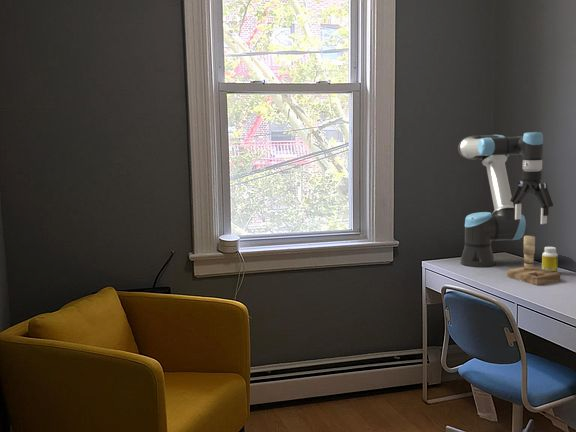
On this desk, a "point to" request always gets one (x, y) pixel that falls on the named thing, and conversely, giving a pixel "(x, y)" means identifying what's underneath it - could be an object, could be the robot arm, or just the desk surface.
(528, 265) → the leg peg
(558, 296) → the desk surface
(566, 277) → the desk surface
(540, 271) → the board
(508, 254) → the desk surface
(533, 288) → the desk surface
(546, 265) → the pill bottle
